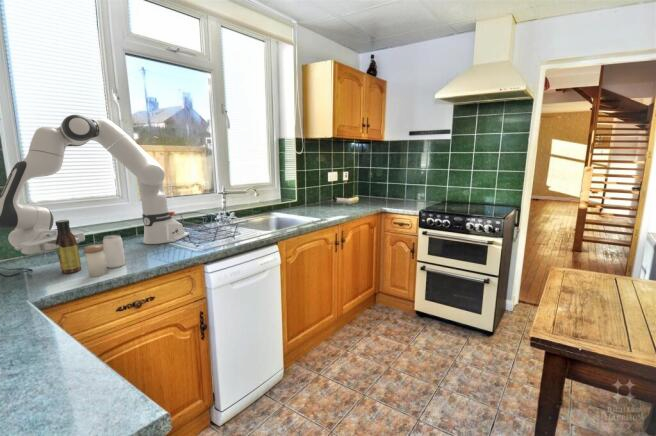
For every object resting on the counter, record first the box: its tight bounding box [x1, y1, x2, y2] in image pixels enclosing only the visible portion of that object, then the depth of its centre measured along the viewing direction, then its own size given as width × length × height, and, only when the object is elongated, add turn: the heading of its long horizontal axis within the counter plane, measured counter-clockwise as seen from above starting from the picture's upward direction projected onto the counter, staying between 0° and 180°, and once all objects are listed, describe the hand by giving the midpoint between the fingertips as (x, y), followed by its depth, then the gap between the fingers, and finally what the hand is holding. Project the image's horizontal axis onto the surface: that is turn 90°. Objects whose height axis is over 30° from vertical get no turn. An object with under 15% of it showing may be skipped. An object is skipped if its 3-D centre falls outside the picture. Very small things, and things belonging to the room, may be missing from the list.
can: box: [102, 234, 126, 269], centre depth 135 cm, size 6×6×12 cm
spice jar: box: [83, 243, 108, 277], centre depth 126 cm, size 6×6×11 cm
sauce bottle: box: [54, 219, 82, 274], centre depth 128 cm, size 6×6×20 cm
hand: (67, 243), depth 128 cm, fingers closed on sauce bottle, 6 cm apart
